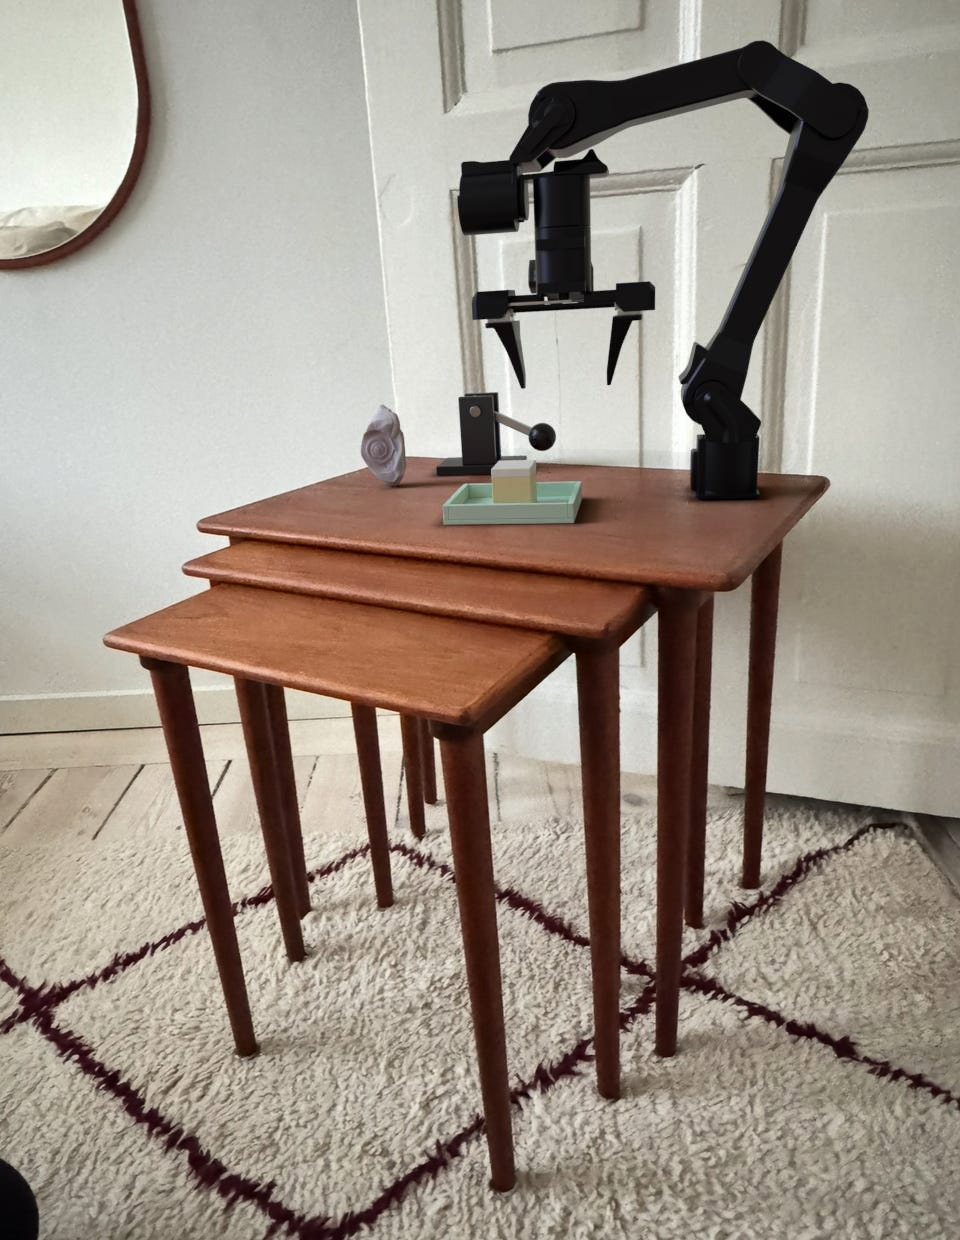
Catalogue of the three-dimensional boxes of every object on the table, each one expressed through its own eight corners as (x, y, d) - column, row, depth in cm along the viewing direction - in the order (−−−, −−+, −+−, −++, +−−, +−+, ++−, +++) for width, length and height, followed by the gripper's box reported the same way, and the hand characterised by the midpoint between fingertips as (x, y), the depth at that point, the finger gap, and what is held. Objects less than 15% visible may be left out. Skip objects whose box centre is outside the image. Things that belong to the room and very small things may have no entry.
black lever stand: (526, 464, 121) (524, 390, 118) (519, 473, 115) (516, 395, 111) (448, 466, 123) (443, 393, 120) (436, 475, 117) (431, 399, 113)
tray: (582, 499, 98) (581, 481, 97) (573, 523, 88) (573, 503, 87) (464, 501, 101) (463, 483, 100) (443, 524, 90) (442, 505, 90)
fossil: (361, 488, 111) (353, 407, 108) (374, 483, 114) (367, 403, 111) (403, 489, 109) (395, 406, 105) (415, 484, 112) (409, 402, 108)
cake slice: (537, 501, 96) (536, 459, 94) (531, 511, 91) (530, 468, 90) (500, 501, 97) (498, 460, 95) (493, 512, 92) (491, 469, 91)
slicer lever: (550, 453, 118) (561, 427, 117) (547, 457, 115) (559, 431, 113) (467, 415, 118) (477, 390, 117) (461, 419, 115) (472, 392, 114)
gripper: (655, 227, 96) (654, 376, 101) (485, 239, 100) (492, 383, 105) (656, 219, 86) (654, 386, 91) (466, 233, 89) (475, 393, 95)
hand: (565, 386), depth 96 cm, fingers open, 9 cm apart
